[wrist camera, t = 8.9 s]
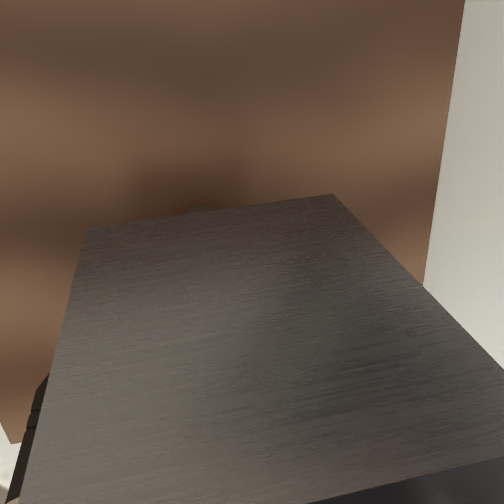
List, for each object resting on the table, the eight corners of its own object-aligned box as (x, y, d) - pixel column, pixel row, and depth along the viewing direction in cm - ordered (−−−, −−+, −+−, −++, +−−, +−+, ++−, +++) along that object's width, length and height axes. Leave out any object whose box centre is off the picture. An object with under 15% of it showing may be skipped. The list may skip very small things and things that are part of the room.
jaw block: (85, 228, 10) (-2, 577, 4) (332, 193, 11) (571, 439, 5) (139, 429, 13) (136, 794, 7) (327, 390, 14) (466, 688, 8)
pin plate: (-187, -32, 12) (-330, -44, 8) (451, -66, 15) (553, -87, 11) (17, 421, 20) (-10, 513, 17) (399, 347, 23) (446, 413, 19)
